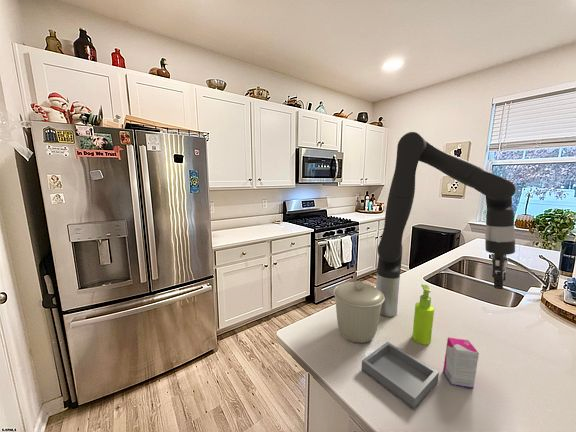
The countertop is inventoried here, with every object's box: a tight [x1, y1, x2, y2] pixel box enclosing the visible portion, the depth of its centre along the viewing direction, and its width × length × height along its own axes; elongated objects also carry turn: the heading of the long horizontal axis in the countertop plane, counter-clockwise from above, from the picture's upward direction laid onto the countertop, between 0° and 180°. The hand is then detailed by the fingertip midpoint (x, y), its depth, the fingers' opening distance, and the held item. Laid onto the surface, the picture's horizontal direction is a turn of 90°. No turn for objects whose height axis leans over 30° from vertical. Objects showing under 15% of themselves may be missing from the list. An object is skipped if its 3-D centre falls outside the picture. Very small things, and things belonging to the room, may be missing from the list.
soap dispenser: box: [411, 284, 435, 346], centre depth 87 cm, size 6×7×20 cm
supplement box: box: [442, 337, 480, 390], centre depth 70 cm, size 6×6×12 cm
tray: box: [361, 341, 440, 411], centre depth 71 cm, size 16×14×4 cm
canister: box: [332, 280, 385, 344], centre depth 89 cm, size 18×18×21 cm
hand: (499, 284), depth 83 cm, fingers open, 8 cm apart
